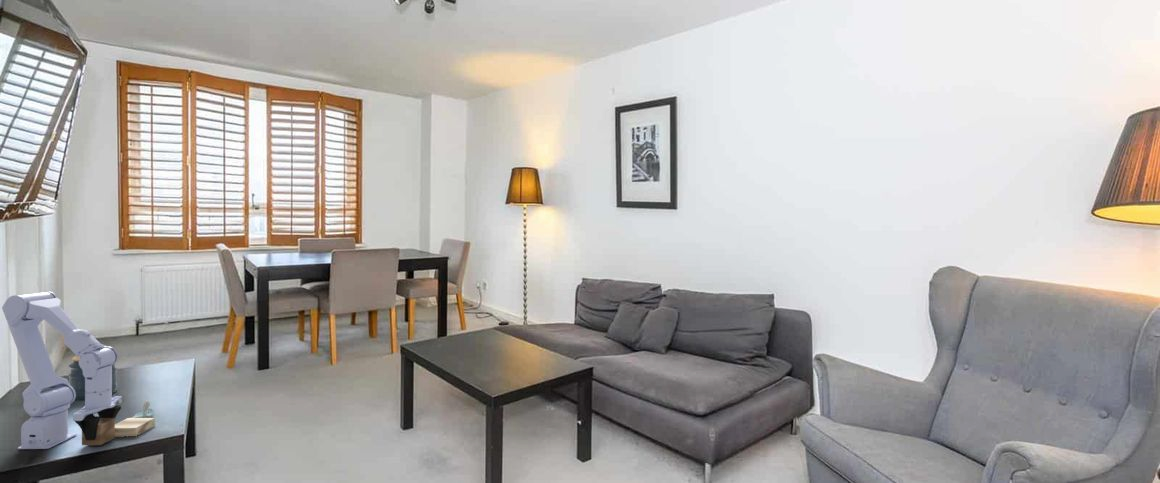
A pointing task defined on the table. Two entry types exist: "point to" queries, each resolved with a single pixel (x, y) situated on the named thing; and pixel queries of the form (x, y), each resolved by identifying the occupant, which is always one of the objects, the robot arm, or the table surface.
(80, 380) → the canister
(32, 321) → the robot arm
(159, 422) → the table surface
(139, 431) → the maple block
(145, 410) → the pacifier
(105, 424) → the walnut cube
